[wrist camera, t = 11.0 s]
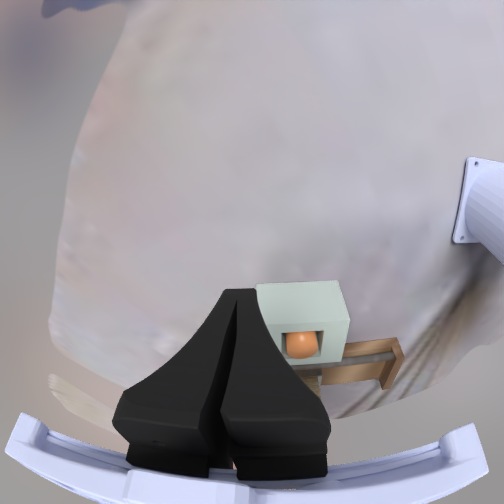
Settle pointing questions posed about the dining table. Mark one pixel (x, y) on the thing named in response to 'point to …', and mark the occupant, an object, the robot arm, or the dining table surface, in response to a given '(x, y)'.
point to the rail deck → (362, 363)
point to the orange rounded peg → (301, 344)
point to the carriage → (311, 379)
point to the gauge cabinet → (306, 316)
